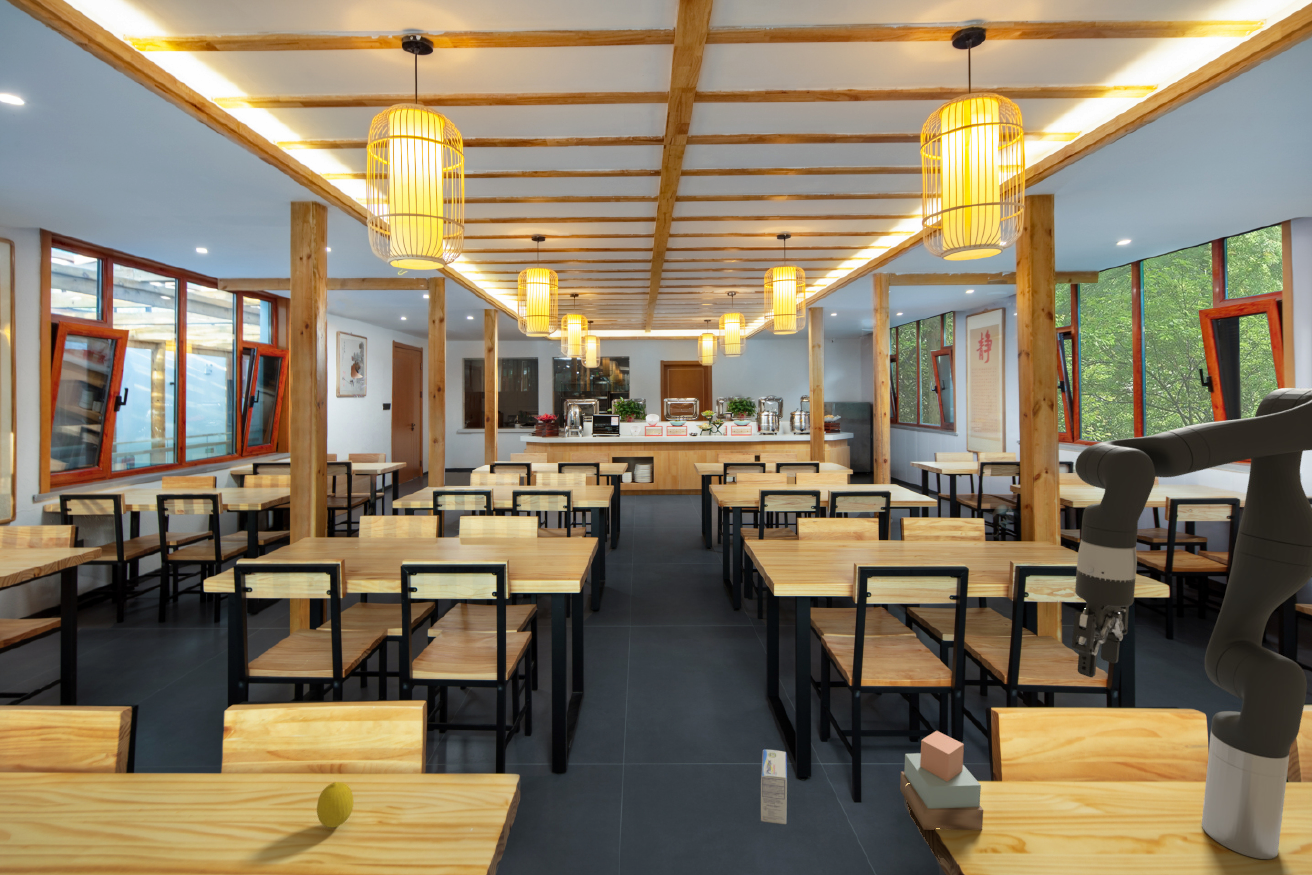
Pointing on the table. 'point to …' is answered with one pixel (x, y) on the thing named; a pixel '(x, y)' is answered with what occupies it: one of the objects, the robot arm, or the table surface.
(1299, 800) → the table surface
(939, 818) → the tower base block
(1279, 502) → the robot arm
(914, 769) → the tower top block
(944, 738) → the terracotta block
